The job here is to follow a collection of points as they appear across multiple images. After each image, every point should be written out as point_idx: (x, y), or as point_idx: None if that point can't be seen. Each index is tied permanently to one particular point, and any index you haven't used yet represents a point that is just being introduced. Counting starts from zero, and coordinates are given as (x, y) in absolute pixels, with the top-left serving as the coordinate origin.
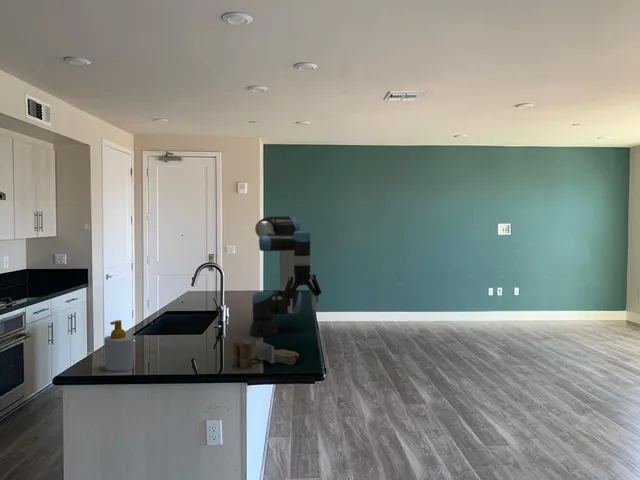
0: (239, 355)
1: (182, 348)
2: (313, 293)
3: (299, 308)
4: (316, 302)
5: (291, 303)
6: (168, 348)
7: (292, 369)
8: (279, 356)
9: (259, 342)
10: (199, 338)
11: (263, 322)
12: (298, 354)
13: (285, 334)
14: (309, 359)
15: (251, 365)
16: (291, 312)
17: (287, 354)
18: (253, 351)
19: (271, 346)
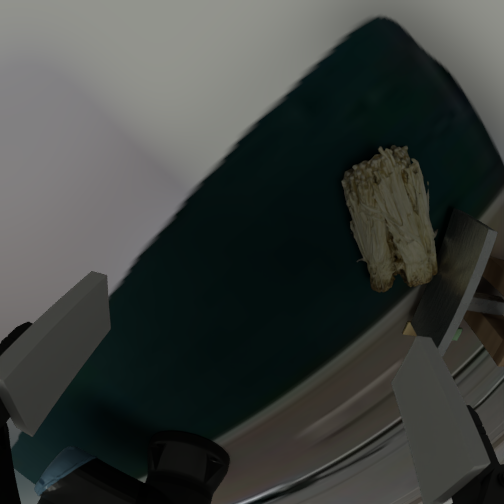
0: (499, 318)
1: (412, 469)
2: (2, 437)
3: (65, 451)
4: (44, 314)
5: (466, 415)
6: None
7: (434, 118)
8: (428, 217)
9: (453, 332)
10: (330, 497)
11: (197, 479)
12: (381, 148)
13: (139, 416)
14: (292, 148)
15: (492, 259)
16: (429, 343)
17: (415, 189)
18: (477, 305)
19: (493, 238)
